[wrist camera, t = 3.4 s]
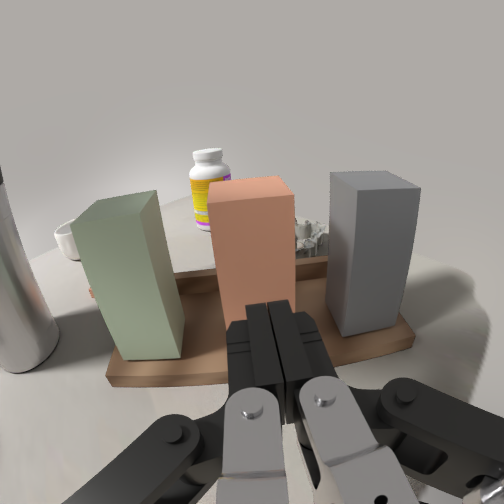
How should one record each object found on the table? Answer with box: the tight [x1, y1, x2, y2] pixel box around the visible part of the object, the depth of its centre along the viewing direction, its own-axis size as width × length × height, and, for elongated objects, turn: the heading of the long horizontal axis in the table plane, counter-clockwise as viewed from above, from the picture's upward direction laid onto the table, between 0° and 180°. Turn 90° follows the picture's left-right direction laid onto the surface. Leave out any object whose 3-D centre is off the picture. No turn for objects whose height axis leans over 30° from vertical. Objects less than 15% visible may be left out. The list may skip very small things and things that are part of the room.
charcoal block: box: [325, 171, 421, 337], centre depth 22 cm, size 5×5×12 cm
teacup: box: [54, 218, 80, 260], centre depth 43 cm, size 10×8×5 cm
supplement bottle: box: [189, 148, 231, 231], centre depth 48 cm, size 7×7×13 cm
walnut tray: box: [105, 255, 416, 387], centre depth 26 cm, size 26×12×4 cm, turn 96°
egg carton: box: [295, 218, 326, 259], centre depth 39 cm, size 11×8×4 cm
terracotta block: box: [207, 176, 295, 330], centre depth 22 cm, size 5×5×12 cm
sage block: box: [70, 190, 185, 360], centre depth 21 cm, size 5×5×12 cm
